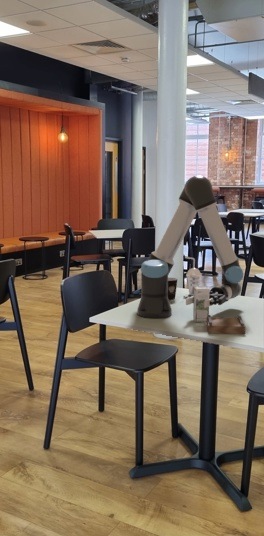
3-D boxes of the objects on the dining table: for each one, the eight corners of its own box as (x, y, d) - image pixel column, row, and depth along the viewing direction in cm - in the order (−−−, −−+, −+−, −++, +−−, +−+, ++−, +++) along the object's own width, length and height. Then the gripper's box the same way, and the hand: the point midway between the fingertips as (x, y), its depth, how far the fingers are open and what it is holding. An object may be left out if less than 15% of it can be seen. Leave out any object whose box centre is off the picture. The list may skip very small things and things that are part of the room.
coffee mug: (177, 296, 271) (177, 277, 269) (177, 300, 262) (177, 280, 261) (154, 296, 272) (154, 277, 270) (153, 300, 263) (153, 280, 262)
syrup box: (206, 319, 225) (207, 285, 223) (208, 322, 219) (209, 288, 217) (193, 319, 225) (193, 285, 223) (195, 322, 219) (195, 288, 217)
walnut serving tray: (208, 333, 203) (208, 323, 203) (206, 324, 217) (206, 314, 216) (245, 334, 202) (245, 323, 201) (240, 324, 216) (241, 315, 215)
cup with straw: (201, 296, 273) (202, 257, 270) (183, 295, 274) (184, 257, 271) (202, 292, 281) (202, 255, 278) (184, 292, 282) (185, 255, 279)
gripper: (241, 305, 230) (218, 315, 212) (199, 299, 242) (173, 308, 223) (242, 288, 229) (219, 297, 210) (199, 283, 241) (174, 291, 222)
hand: (195, 303), depth 217 cm, fingers closed on syrup box, 8 cm apart
